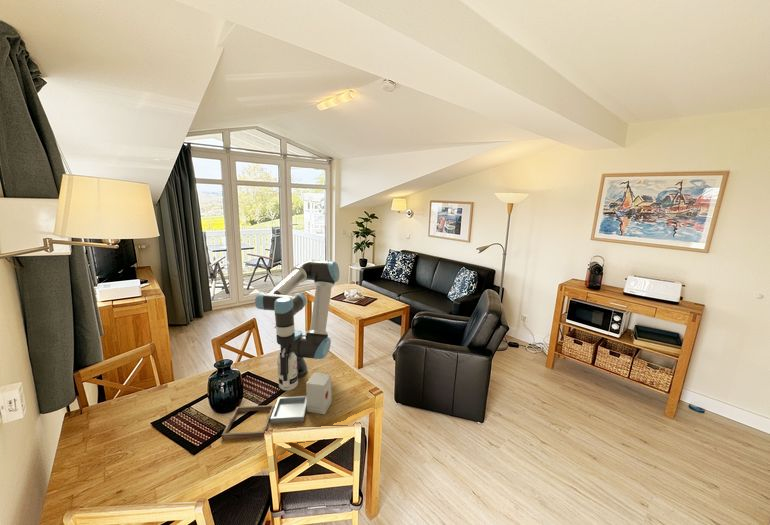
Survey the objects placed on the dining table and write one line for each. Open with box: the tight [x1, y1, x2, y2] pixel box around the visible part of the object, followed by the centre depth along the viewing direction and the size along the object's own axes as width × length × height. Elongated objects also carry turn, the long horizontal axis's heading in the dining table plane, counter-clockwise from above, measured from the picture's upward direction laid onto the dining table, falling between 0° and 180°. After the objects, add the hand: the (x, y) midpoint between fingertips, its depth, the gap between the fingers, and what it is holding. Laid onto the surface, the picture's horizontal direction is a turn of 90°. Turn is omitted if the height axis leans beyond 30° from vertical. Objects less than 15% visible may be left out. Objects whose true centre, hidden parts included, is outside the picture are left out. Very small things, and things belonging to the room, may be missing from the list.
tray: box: [270, 395, 307, 424], centre depth 139 cm, size 14×14×2 cm
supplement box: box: [305, 372, 333, 415], centre depth 141 cm, size 9×9×15 cm
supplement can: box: [276, 352, 299, 391], centre depth 135 cm, size 8×8×15 cm
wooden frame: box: [221, 404, 275, 440], centre depth 132 cm, size 17×17×2 cm
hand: (288, 380), depth 136 cm, fingers closed on supplement can, 8 cm apart
